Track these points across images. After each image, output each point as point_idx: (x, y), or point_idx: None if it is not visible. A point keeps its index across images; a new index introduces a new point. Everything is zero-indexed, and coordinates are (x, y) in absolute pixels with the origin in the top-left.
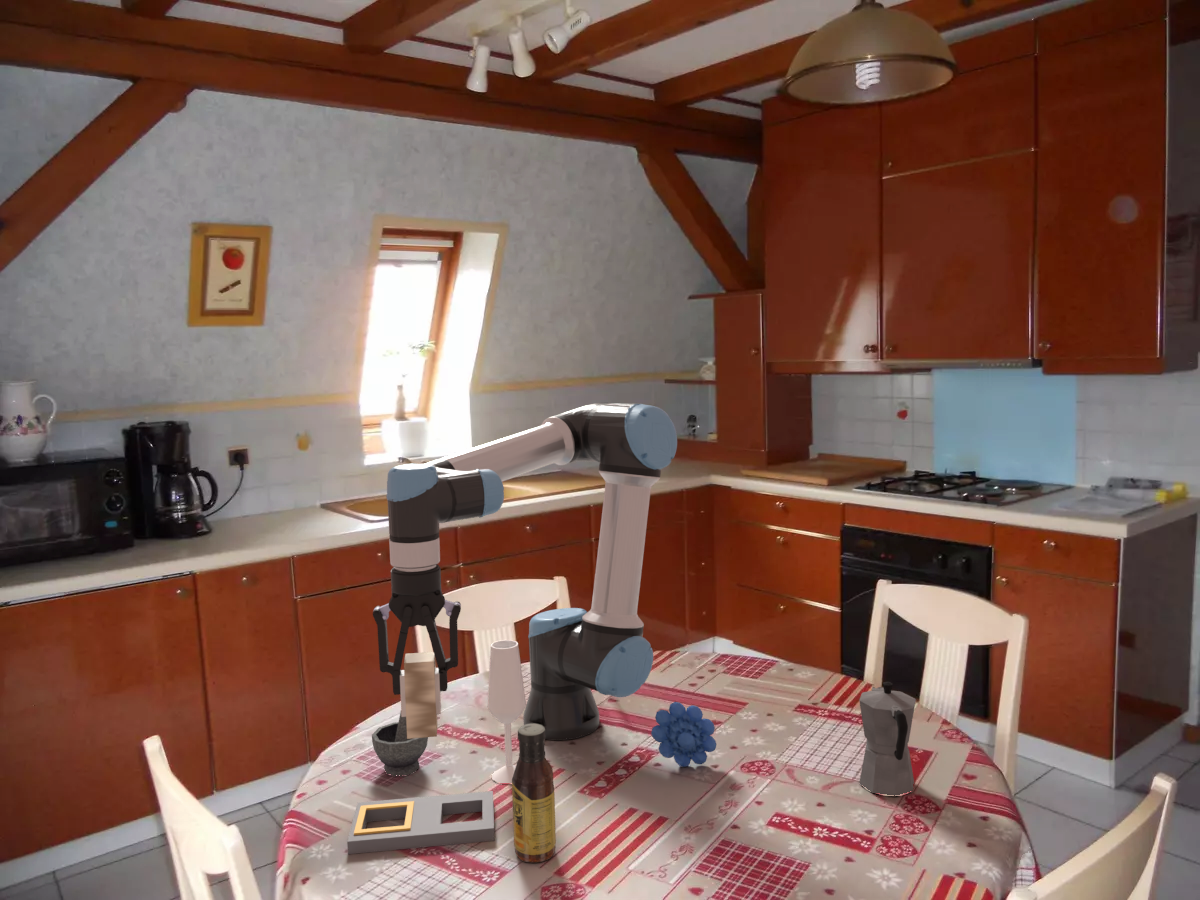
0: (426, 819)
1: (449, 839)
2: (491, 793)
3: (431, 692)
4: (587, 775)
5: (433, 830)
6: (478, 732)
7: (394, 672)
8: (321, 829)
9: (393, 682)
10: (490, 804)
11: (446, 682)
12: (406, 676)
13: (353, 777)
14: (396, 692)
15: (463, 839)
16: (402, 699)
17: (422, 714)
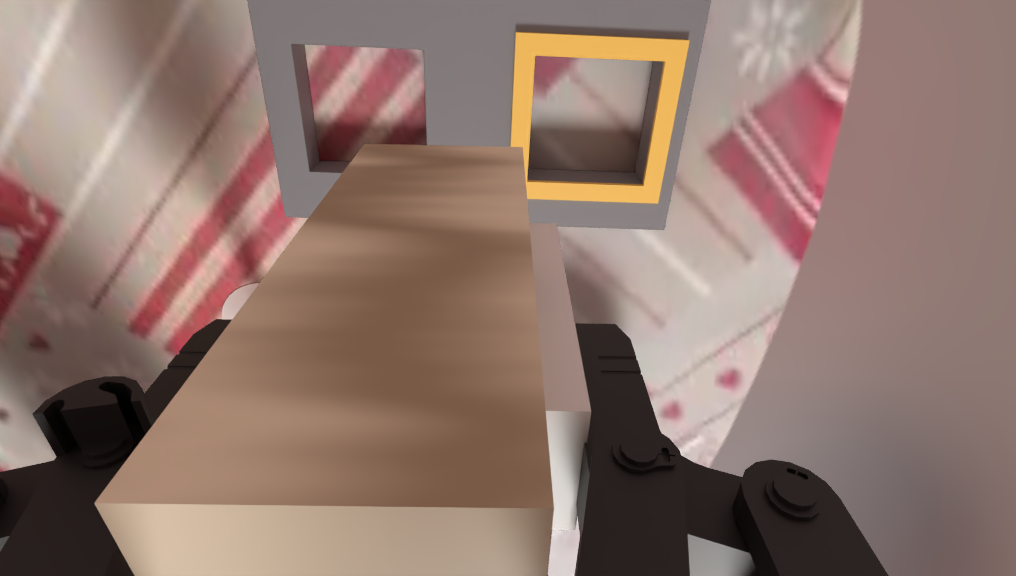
0: (468, 87)
1: None
2: (286, 202)
3: (306, 264)
4: (57, 289)
5: (443, 10)
6: None
7: (654, 446)
8: (755, 159)
9: (639, 392)
10: (279, 138)
11: (176, 364)
12: (519, 369)
13: (656, 385)
14: (602, 334)
15: None
16: (553, 279)
17: (418, 192)
